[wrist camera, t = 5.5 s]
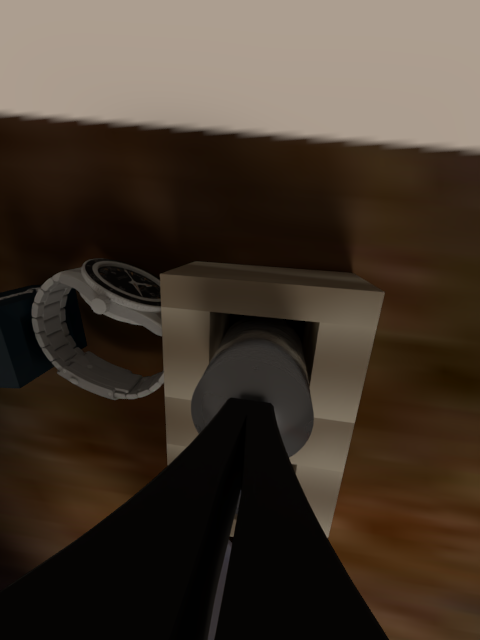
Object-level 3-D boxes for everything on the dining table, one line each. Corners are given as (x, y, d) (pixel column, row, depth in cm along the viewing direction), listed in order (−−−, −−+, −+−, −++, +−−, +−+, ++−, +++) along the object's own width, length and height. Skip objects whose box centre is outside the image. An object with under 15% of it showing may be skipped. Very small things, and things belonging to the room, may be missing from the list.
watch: (23, 255, 18) (188, 253, 16) (53, 366, 20) (197, 371, 19) (-82, 266, 12) (148, 265, 11) (-24, 414, 15) (169, 426, 14)
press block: (314, 478, 20) (324, 555, 15) (195, 458, 21) (169, 524, 16) (352, 272, 15) (384, 292, 10) (195, 261, 16) (159, 273, 11)
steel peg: (297, 393, 14) (304, 474, 9) (220, 383, 14) (190, 455, 10) (308, 318, 12) (323, 369, 8) (222, 310, 13) (190, 353, 8)
